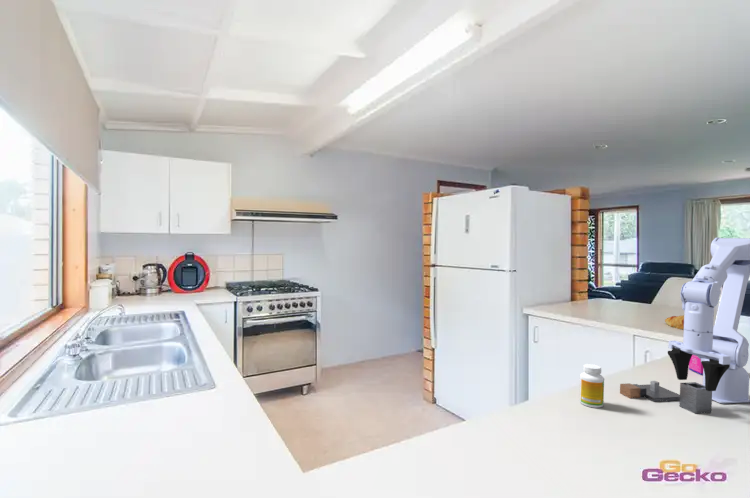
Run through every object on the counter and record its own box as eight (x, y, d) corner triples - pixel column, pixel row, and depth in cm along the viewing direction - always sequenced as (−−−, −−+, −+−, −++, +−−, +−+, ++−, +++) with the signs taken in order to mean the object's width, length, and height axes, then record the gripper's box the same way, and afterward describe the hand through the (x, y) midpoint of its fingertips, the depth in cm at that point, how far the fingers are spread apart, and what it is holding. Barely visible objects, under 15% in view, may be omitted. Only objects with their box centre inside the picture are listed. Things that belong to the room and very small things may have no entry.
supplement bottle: (606, 409, 100) (607, 370, 99) (582, 407, 101) (584, 368, 100) (599, 400, 105) (600, 363, 105) (576, 398, 106) (577, 362, 106)
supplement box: (706, 370, 132) (708, 335, 132) (720, 376, 127) (721, 339, 126) (687, 369, 133) (689, 334, 133) (700, 375, 127) (701, 339, 127)
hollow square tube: (694, 405, 103) (695, 382, 103) (711, 412, 99) (712, 388, 99) (679, 406, 102) (680, 382, 102) (695, 413, 98) (696, 389, 98)
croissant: (660, 330, 209) (653, 316, 208) (676, 321, 210) (669, 307, 209) (697, 339, 188) (690, 324, 187) (714, 329, 189) (707, 314, 188)
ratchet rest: (655, 387, 115) (655, 375, 115) (683, 400, 106) (684, 387, 106) (612, 389, 113) (613, 377, 113) (638, 402, 104) (638, 389, 104)
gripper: (659, 324, 107) (657, 375, 107) (712, 337, 92) (710, 396, 93) (682, 324, 108) (680, 374, 108) (739, 337, 93) (736, 395, 94)
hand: (695, 384), depth 100 cm, fingers open, 7 cm apart
